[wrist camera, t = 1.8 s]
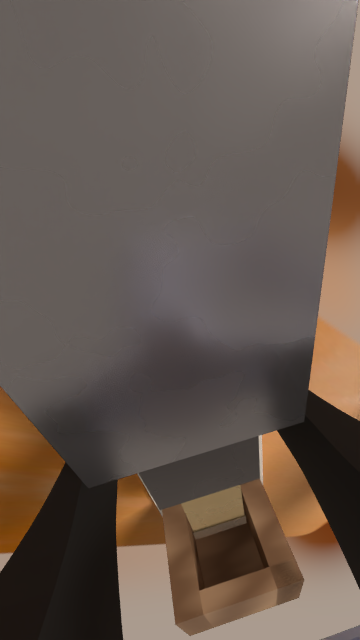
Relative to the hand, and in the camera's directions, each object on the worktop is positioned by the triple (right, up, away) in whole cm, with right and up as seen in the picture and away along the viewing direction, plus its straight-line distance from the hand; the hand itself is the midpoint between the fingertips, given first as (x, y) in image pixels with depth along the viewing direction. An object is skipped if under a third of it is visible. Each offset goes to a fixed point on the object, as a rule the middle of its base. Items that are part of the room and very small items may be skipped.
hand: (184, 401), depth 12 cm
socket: (+3, -12, +10) cm, 16 cm away
